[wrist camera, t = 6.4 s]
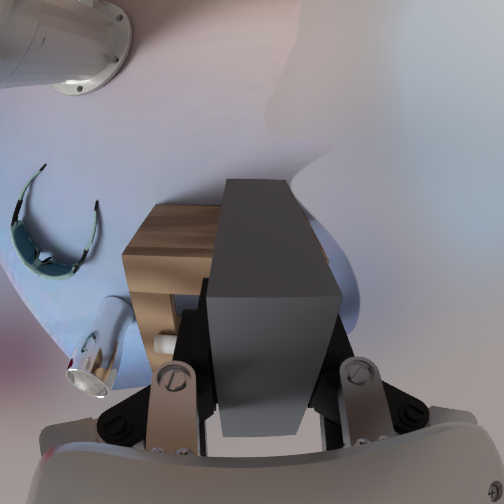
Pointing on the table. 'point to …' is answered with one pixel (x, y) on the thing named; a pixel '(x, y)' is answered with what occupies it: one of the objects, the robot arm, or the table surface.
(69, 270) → the sunglasses
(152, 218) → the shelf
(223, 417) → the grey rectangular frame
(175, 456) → the robot arm
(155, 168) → the table surface
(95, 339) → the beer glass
